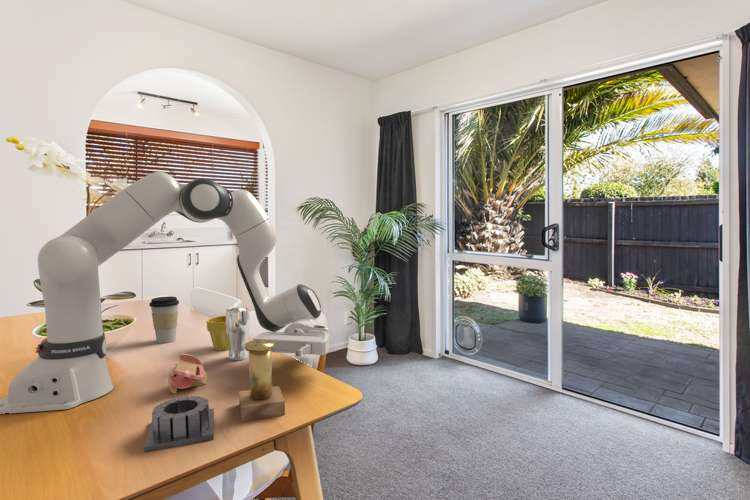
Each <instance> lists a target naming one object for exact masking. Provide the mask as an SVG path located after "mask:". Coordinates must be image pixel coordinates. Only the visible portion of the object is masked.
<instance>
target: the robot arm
mask: <svg viewBox="0 0 750 500" xmlns="http://www.w3.org/2000/svg"><path fill="white" fill-rule="evenodd" d="M173 212H174V213H177V214H178V215H181V216H182V217H184V218H185V219H187V220H189V221H191V222H193V223H194V222H195V223H200V224H201V223H207V222H210V221H213V220H216V219H218V220H220V221H222V222H223V223H225V224H226V225H227V227H228V228H229V229H230V231H231V233H232V235H233V237H234V238H235V240H236V242H237V243H236V244H237V246H238V255H237V256H236V263H237V266H238V269H239V273H240V275H241V278H242V280H243V282H244V286H245V288H246V291H247V292H248V296H249V297H250V300H251V303H252V305H253V308H254V312H255V315H256V319H257V322H258V324H259V325H260V326H261V328H263V329H264V330H266V332H262V333H260V334H257V335H256V336H254V337H253V338H252V341H254V340H272V341H274V342H275V347H274V348H273V349H271V353H278V354H279V353H281V354H284V353H285V354H295V357H303V356H305V355H315V356H316V355H318V356H322V355H324V356H325V355H327V354H328V352H329V350H330V344H331V339H330V338H331V337H330V336H331V335H330V327H329V324H328V318H327V316H326V315H325V314H324V313H323V312H322V305H321V302H320V300H319V297H318V295H317V293H316V292H315V291H314V290H313V289H312V288H310V287H309V286H306V285H305V284H297V285H295V286H293V287H289V288H288V289H286V290H285V291H282V292H280V293H278V294H276V295H274V296H270V295H269V294H268V292H267V289H266V287H265V284H264V282H263V280H262V277H261V274H260V267H261V264H262V263H263V261H264V260H265V259H266V258H267V257H268V256H269V254H270V253H271V252H272V251H273V250H274V247H275V246H276V244H277V240H278V233H277V230H276V228H275V226H274V224H273V222H272V220H271V219H270V217H269V215H268V214H267V212H266V211H265V209H264V207H263V206H262V204H261V203H260V202H259V201H258V199H257V198H256V197H255V196H254V195H253V194H252V192H250V191H248V190H246V189H237V190H234V191H230V190H228V188H225V187H224V186H222V184H221V185H220V184H219V183H218V182H215V181H214V180H211V179H209V178H197V179H193V180H191V181H189V182H188V183H187V184H184V183H180V182H178V180H176V179H175V178H174V177H173V176H172V175H171V174H169V173H167V172H164V171H154V172H152V173H150V174H147V175H145V176H143V177H142V178H139V179H138V180H136V181H134V182H132V183H130V184H129V185H128V186H126V187H125V188H124V189H122V190H121V191H119V192H117V193H116V194H115V195H113V196H112V197H111V198H110V199H108V200H107V201H105V202H103V204H101V205H100V206H98V207H97V208H95V209H94V210H93V211H92V212H90V213H89V214H87V215H86V216H85V217H84V218H83V219H81V220H80V221H78V222H77V223H76V224H74V225H72V227H71V228H69V229H68V230H66V231H65V232H63V233H62V234H61V235H60V236H57V237H54V238H51V239H50V240H49V241H47V242H46V243H45V244H43V246H42V247H41V248H40V250H39V252H38V254H37V269H38V275H39V281H40V289H41V294H42V298H43V303H44V311H45V312H44V313H45V314H44V315H45V325H46V326H45V327H46V337H45V338H44V339H42V341H40V343H39V344H38V345H37V346H36V348H35V353H36V354H38V357H37V358H36V359H34V360H33V361H32V362H30V363H29V364H28V365H26V367H24V368H23V369H22V370H20V371H19V372H17V374H15V376H14V377H12V379H11V381H10V384H9V386H8V391H7V395H5V396H4V397H3V398H1V399H0V415H6V414H5V413H9V414H18V413H19V414H21V413H33V412H34V413H35V412H45V411H47V412H48V411H60V410H69V409H73V408H75V407H77V406H79V405H81V404H83V403H87V402H90V401H92V400H96V399H98V398H101V397H102V396H104V395H106V394H108V393H109V392H112V390H113V389H114V383H113V381H112V379H111V376H110V373H109V369H108V364H107V359H106V358H107V357H106V355H107V339H106V333H104V330H103V315H102V313H103V312H102V300H101V299H102V298H101V289H100V277H99V267H100V266H101V265H102V264H103V263H105V262H107V261H108V260H109V259H110V258H112V257H113V256H114V255H116V254H117V253H119V252H120V251H121V250H123V249H124V248H125V247H127V246H128V245H130V244H132V243H133V242H134V241H135V240H136V239H138V238H139V237H140V236H142V235H143V234H144V233H145V232H147V231H148V230H149V229H151V228H152V227H153V226H155V225H156V224H157V223H159V222H160V221H161V220H162V219H164V218H165V217H167V216H168V215H170V214H171V213H173ZM286 326H287V327H286ZM283 328H285V329H284V330H283ZM281 330H283V332H282V331H281Z"/></svg>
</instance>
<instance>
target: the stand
mask: <svg viewBox="0 0 750 500" xmlns="http://www.w3.org/2000/svg"><path fill="white" fill-rule="evenodd" d="M238 393H239V396H238V397H239V398H238V399H239V400H238V401H239V402H238V403H239V410H240V411H239V412H240V417H241V422H249V421H254V420H260V419H266V418H271V417H278V416H279V417H280V416H284V415H286V408H285V407H286V405H285V403H286V402H285V398H284V396H283V393H282V391H281V387H280V385H277V386H276V385H275V386H274V385H273V386H272V397H271V398H269V399H267V400H262V401H255V400H252V399H250V389H248V390H239V391H238Z"/></svg>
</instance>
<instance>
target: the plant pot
mask: <svg viewBox="0 0 750 500" xmlns="http://www.w3.org/2000/svg"><path fill="white" fill-rule="evenodd" d="M206 331H208V332H209V335H210V339H211V342H212V347H213V349H214V350H215V351H228V350H229V341H228V336H227V331H226V315H218V316H214V317H211V318H208V319H207V320H206Z"/></svg>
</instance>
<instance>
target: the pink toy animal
mask: <svg viewBox="0 0 750 500" xmlns="http://www.w3.org/2000/svg"><path fill="white" fill-rule="evenodd" d="M174 365H175V367H173V368H172V370H171V372H170V373H169V374H168V378H167V382H168V383H167V384H168V386H169V391H170V393H173V394H176V395H177V391H178V389H180V390H181V389H187V388H190V387H195V386H196V387H197V386H203V385H207V383H208V372H206V371H205V368H204V366H203V365H202V363H201V361H200V359H199V358H198V357H196V356H195V355H191V354H190V353H180V354H179V360H178V361H177V363H176V364H174Z"/></svg>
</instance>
